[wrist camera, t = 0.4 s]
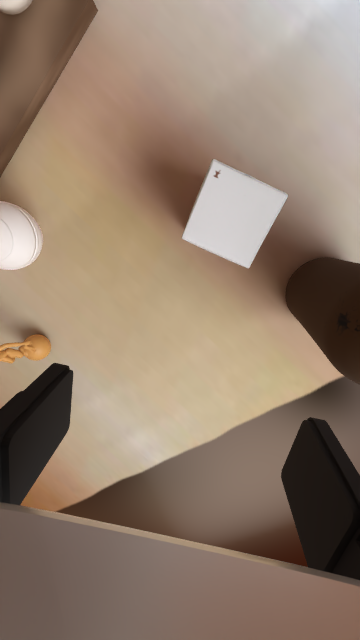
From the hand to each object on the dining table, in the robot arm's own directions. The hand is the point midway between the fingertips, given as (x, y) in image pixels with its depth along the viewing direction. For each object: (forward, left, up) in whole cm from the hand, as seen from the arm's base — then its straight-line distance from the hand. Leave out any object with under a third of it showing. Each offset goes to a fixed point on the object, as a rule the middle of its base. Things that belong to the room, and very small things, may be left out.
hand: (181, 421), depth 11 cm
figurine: (+13, -24, -31) cm, 41 cm away
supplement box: (-8, +2, -31) cm, 32 cm away
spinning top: (-3, -23, -31) cm, 38 cm away
